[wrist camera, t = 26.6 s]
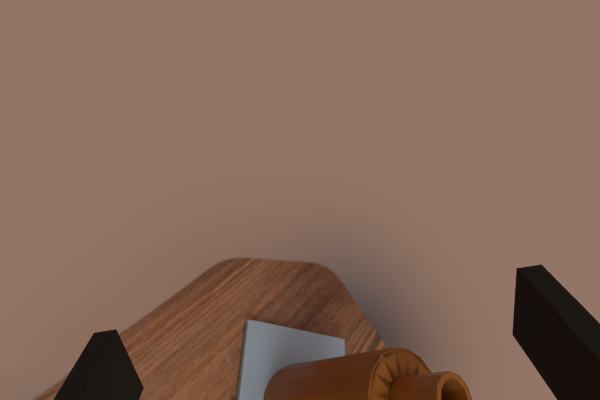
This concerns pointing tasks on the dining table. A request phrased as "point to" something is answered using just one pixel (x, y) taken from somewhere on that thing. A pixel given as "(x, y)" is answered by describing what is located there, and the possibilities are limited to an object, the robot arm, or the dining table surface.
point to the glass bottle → (366, 379)
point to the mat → (278, 354)
